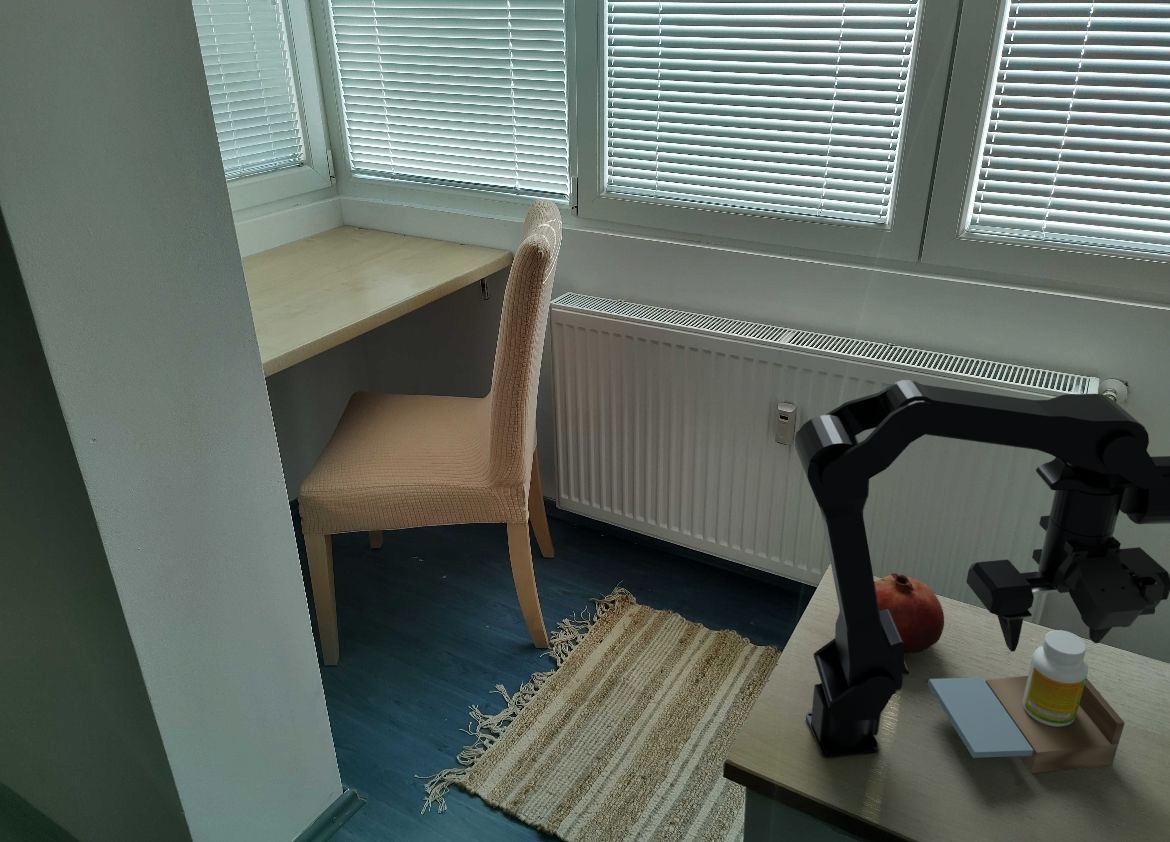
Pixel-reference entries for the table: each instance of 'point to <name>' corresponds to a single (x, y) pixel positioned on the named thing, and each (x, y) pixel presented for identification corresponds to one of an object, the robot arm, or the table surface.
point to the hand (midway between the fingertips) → (1052, 644)
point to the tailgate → (979, 718)
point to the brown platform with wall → (1063, 729)
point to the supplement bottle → (1056, 679)
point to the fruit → (911, 610)
